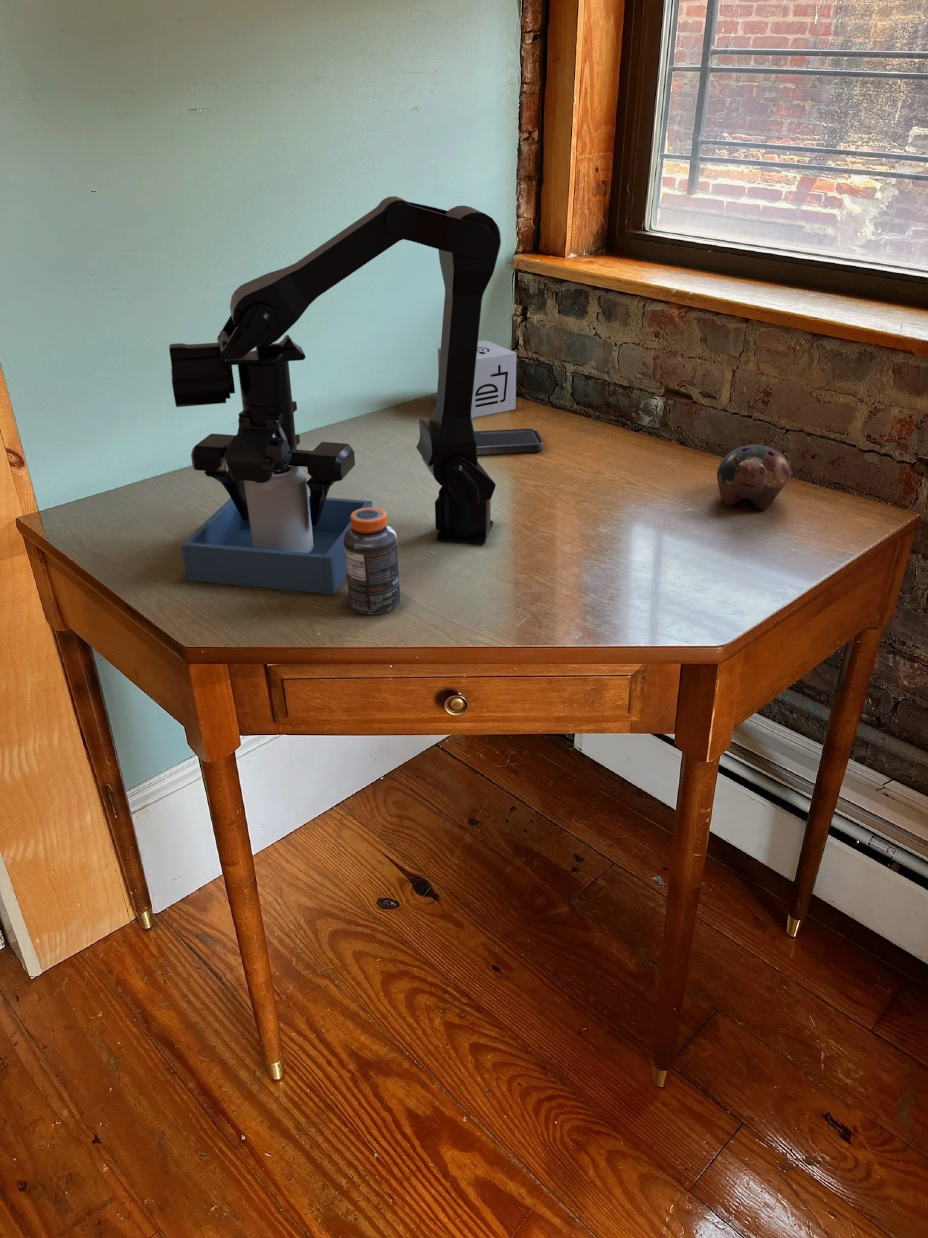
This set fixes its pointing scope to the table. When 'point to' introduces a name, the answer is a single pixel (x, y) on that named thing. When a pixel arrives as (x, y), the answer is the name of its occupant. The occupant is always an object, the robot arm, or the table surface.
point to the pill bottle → (372, 562)
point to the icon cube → (493, 379)
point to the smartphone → (508, 441)
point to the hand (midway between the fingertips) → (280, 522)
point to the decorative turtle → (752, 475)
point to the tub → (270, 552)
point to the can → (280, 512)
